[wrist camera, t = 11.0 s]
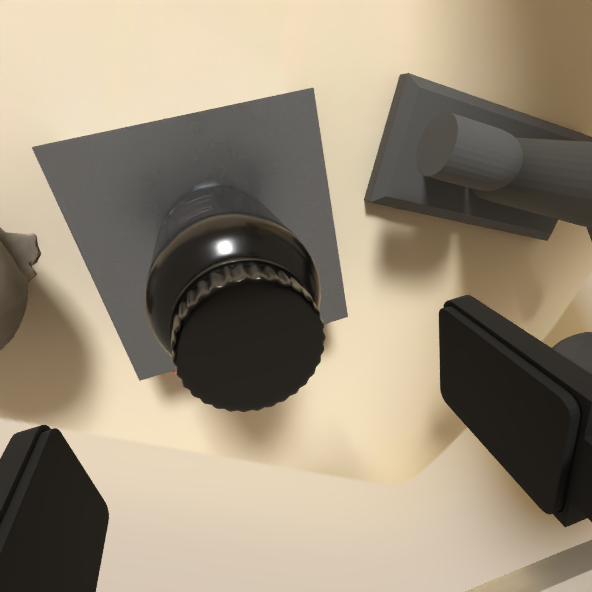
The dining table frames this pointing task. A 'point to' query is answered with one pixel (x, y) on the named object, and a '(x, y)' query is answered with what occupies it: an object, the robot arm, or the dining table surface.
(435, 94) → the faucet
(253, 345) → the supplement bottle
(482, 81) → the dining table surface
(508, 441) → the robot arm
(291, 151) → the stand
